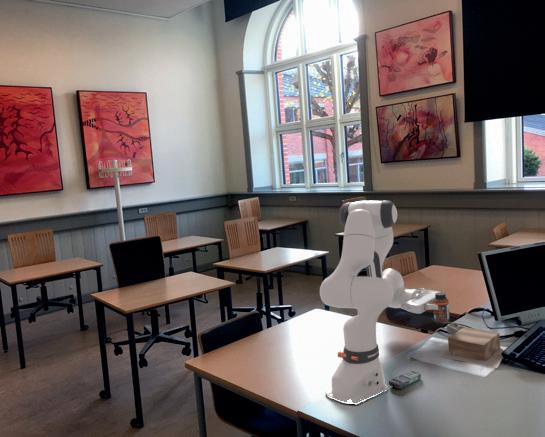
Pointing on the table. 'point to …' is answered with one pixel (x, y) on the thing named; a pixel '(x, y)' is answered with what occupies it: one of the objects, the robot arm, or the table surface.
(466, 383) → the table surface
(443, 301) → the supplement bottle
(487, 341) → the walnut block
